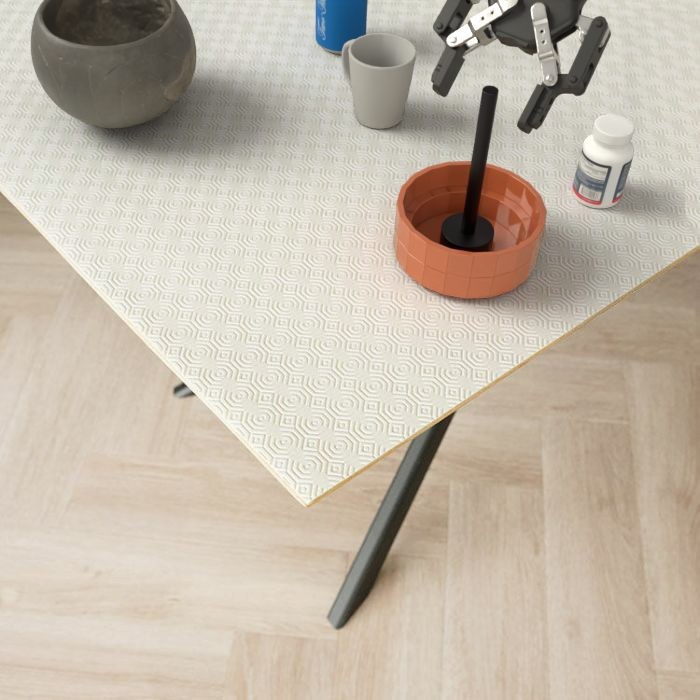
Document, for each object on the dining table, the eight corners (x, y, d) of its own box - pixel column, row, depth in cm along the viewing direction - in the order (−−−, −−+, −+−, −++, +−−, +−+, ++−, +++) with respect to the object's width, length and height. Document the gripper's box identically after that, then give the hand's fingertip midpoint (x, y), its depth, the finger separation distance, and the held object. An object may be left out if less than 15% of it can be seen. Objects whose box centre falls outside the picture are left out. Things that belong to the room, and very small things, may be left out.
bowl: (186, 59, 114) (174, -40, 105) (216, 141, 103) (206, 37, 93) (40, 79, 110) (14, -22, 101) (55, 167, 99) (28, 61, 89)
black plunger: (493, 235, 92) (524, 77, 79) (487, 269, 89) (518, 110, 76) (443, 226, 93) (464, 69, 80) (435, 260, 90) (456, 101, 76)
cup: (378, 143, 103) (382, 76, 97) (319, 105, 108) (319, 39, 102) (424, 117, 107) (431, 51, 101) (365, 82, 112) (368, 17, 105)
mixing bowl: (540, 219, 95) (551, 173, 91) (528, 314, 86) (540, 267, 81) (407, 198, 97) (411, 151, 93) (381, 288, 88) (384, 241, 83)
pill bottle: (608, 177, 100) (629, 107, 94) (628, 206, 97) (650, 136, 90) (563, 182, 100) (581, 112, 93) (581, 212, 96) (601, 142, 90)
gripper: (486, -115, 75) (396, 67, 77) (645, -65, 69) (542, 130, 72) (509, -71, 82) (425, 95, 84) (655, -22, 76) (561, 154, 79)
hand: (479, 111), depth 78 cm, fingers open, 8 cm apart
